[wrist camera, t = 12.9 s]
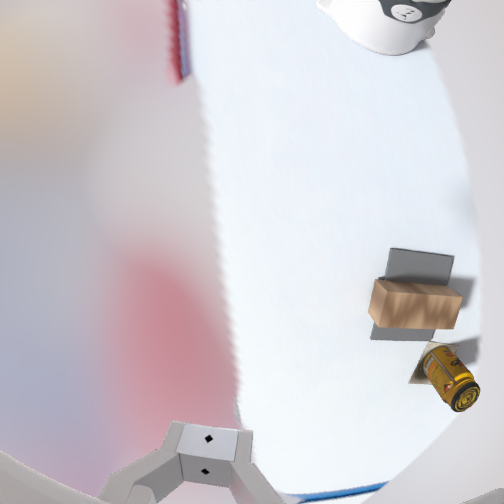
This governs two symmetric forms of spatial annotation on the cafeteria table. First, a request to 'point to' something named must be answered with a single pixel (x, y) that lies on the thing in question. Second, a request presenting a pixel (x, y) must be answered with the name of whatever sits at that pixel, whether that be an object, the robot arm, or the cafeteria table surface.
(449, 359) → the condiment
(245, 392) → the cafeteria table surface
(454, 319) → the block
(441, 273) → the mat
